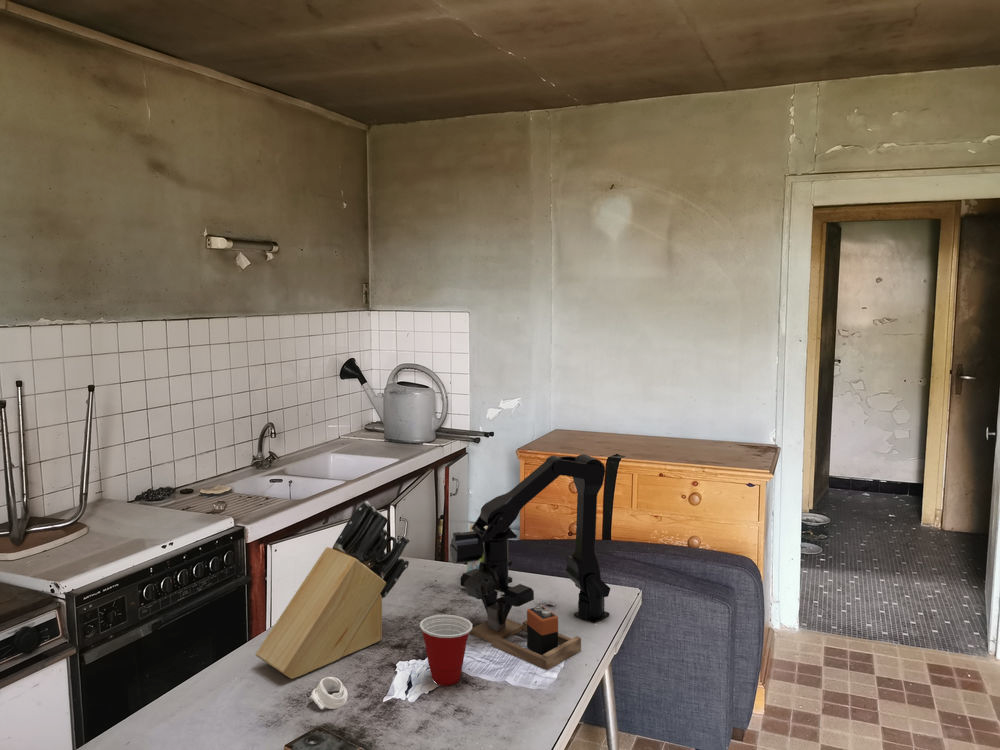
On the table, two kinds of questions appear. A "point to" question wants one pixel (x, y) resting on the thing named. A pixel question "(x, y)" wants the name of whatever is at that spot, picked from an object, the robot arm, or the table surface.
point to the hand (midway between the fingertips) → (496, 622)
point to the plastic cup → (445, 646)
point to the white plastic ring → (327, 700)
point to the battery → (541, 630)
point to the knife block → (338, 599)
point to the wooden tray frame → (499, 633)
